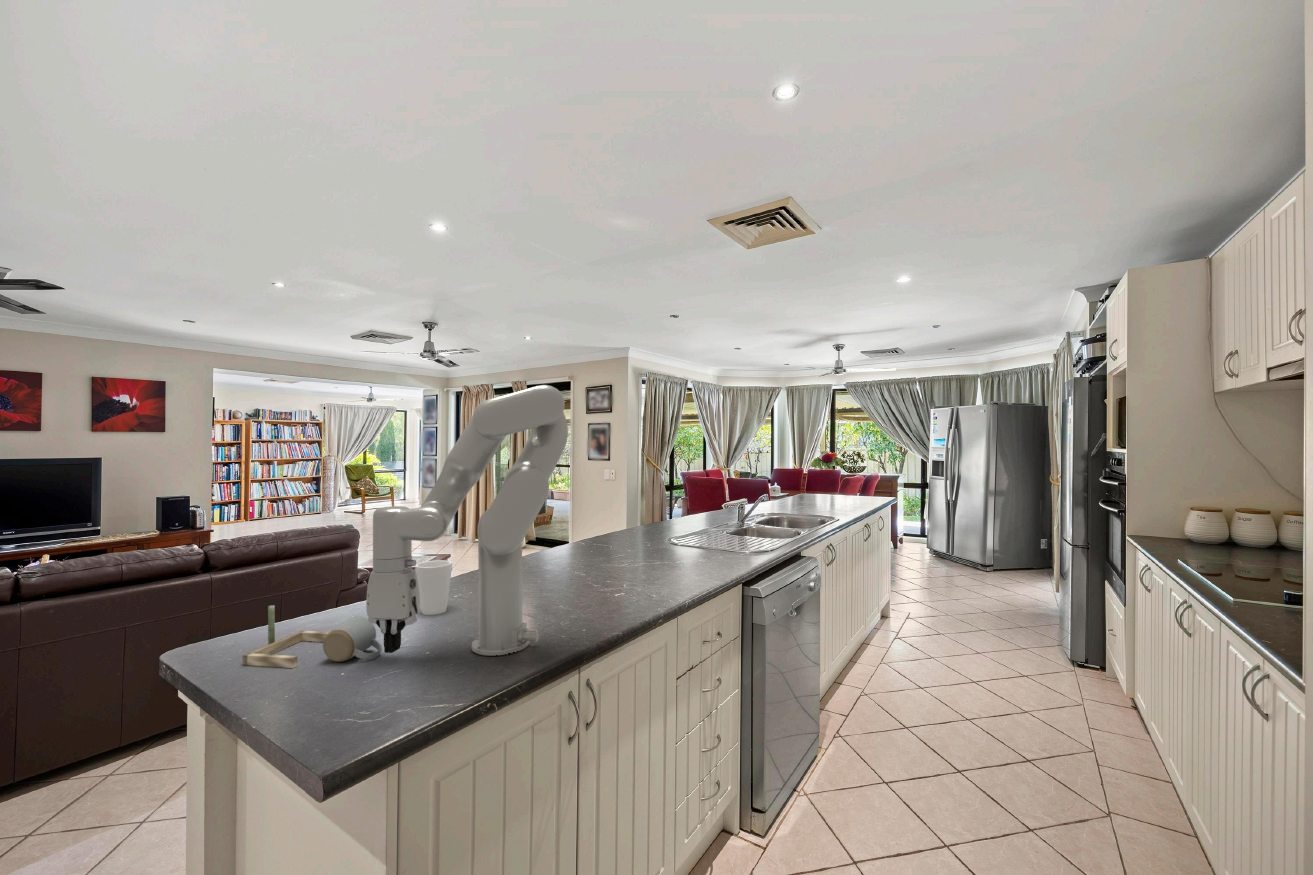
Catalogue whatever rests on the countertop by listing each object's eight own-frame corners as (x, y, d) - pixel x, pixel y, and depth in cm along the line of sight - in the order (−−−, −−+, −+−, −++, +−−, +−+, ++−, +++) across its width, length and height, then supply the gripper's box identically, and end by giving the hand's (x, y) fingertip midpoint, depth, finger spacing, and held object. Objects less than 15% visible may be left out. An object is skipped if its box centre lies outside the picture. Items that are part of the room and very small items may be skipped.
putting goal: (346, 641, 129) (346, 598, 129) (292, 668, 113) (292, 619, 114) (297, 638, 131) (296, 596, 131) (237, 664, 116) (237, 616, 116)
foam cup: (407, 615, 148) (407, 567, 148) (427, 605, 157) (427, 559, 157) (440, 617, 146) (440, 568, 146) (458, 607, 155) (458, 560, 155)
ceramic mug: (319, 663, 116) (320, 626, 116) (344, 648, 124) (344, 614, 124) (368, 665, 115) (368, 628, 115) (389, 650, 123) (390, 616, 123)
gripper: (434, 561, 121) (434, 646, 121) (372, 560, 123) (372, 642, 123) (413, 569, 113) (413, 659, 113) (348, 567, 116) (348, 655, 116)
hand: (392, 650), depth 118 cm, fingers closed
